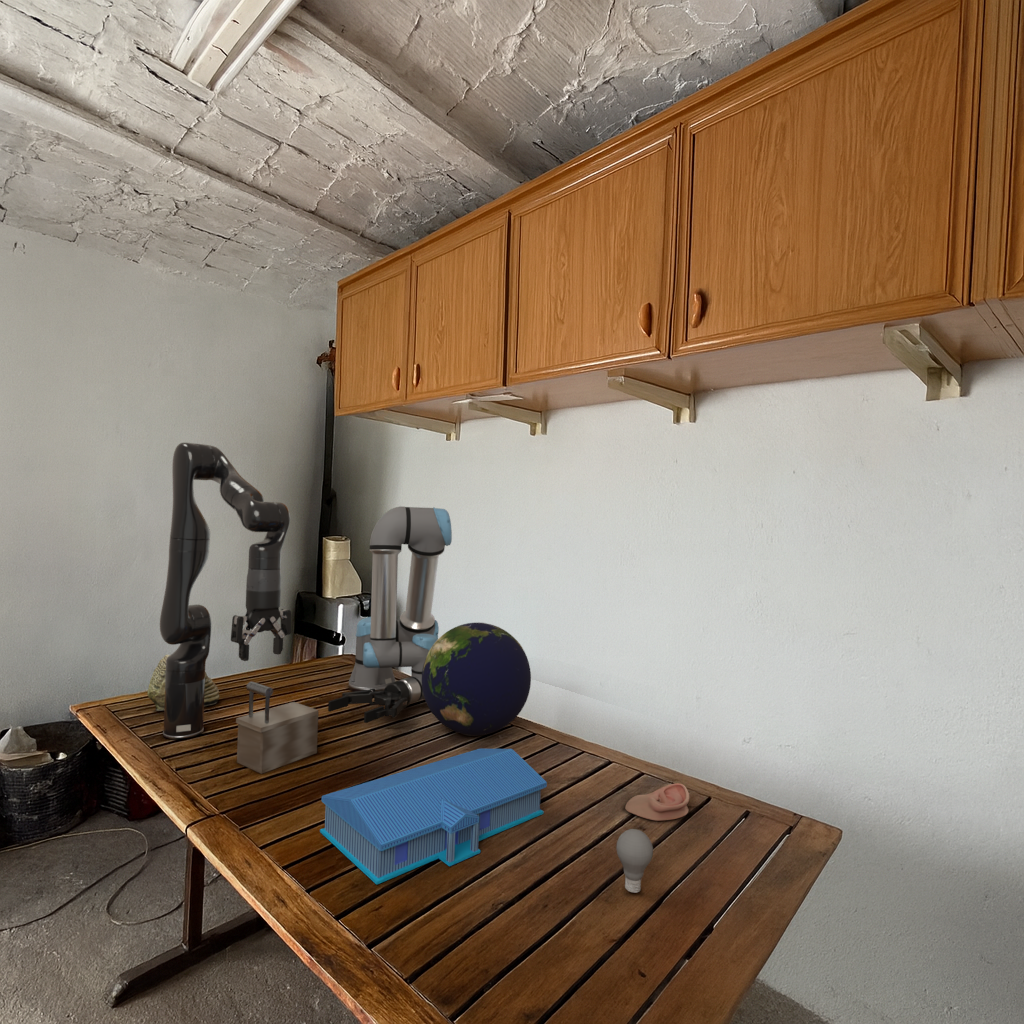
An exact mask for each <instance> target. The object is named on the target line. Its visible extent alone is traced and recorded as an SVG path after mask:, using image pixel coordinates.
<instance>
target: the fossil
mask: <svg viewBox="0 0 1024 1024" xmlns="http://www.w3.org/2000/svg"><path fill="white" fill-rule="evenodd" d="M170 655H171V654H165V655H164V656H163V657H162V658H161V659H160V660H159V662H158V663H157V666H156V667H155V669H154V670H153V672H152V675H151V677H150V680H149V684H148V688H147V697H148V699H149V700H150V701H152V703H153V704H154V706H155V711H158V712H159V711H162V712H163V711H164V705H165V674H166V660H167V658H168V657H169V656H170ZM220 698H221V696H220V690H219V688H218V686H217V685H216V683H215V682H214V681H213V679H212V678H211V677H209V675H208V674H207V672H206V671H205V693H204V707H207V706H213V705H215V704H217V703H218V701H219V699H220Z"/></svg>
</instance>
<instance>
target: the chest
mask: <svg viewBox="0 0 1024 1024" xmlns="http://www.w3.org/2000/svg"><path fill="white" fill-rule="evenodd" d="M318 730H319V714H318V715H315V716H312V717H309V718H306V719H303V720H300V721H296V722H293V723H290V724H287V725H284V726H281V727H277V728H274V729H271V730H268V731H265V732H262V733H260V732H258V731H255V730H253V729H250V728H248V727H245V726H243V725H240V724H238V723H237V742H236V743H237V744H236V745H237V747H236V763H237V764H239V765H241V766H244V768H245V767H246V768H247V769H250V770H252V771H254V772H256V773H259V774H261V775H262V774H265V773H268V772H270V771H273V770H276V769H278V768H280V767H284V766H287V765H289V764H292V763H294V762H297V761H299V760H302V759H305V758H308V757H310V756H313V755H316V754H317V753H318V733H319V731H318Z"/></svg>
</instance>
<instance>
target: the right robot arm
mask: <svg viewBox="0 0 1024 1024" xmlns="http://www.w3.org/2000/svg"><path fill="white" fill-rule="evenodd" d="M452 533H453V532H452V522H451V517H450V514H449V511H448V510H447V509H445V508H438V507H434V506H433V507H419V506H418V507H417V506H415V507H414V506H396V507H393V508H390V509H388V510H387V511H386V512H385V513H383V515H381V517H380V518H379V519H378V520H377V522H376V523H375V525H374V527H373V529H372V532H371V534H370V539H369V553H371V554H372V565H371V566H372V567H371V569H372V570H371V600H370V601H371V603H370V616H367V617H364V618H362V619H360V620H359V621H358V622H357V624H356V633H355V637H356V639H355V659H354V666H353V669H352V672H351V674H350V677H349V679H348V689H349V690H350V691H348V692H342V693H341V697H338V698H335V699H331V700H329V701H328V703H327V704H328V705H327V712H330V713H331V712H333V711H334V712H335V711H337V710H341V709H342V708H347V707H349V705H360V704H361V705H363V704H369V705H370V706H377V705H378V707H375V708H373V709H369V710H367V711H363V723H365V724H368V723H370V722H372V721H376V720H378V719H381V718H383V717H386V718H387V717H391V718H393V719H394V718H396V717H397V716H399V714H400V713H401V712H402V710H403V709H405V708H407V707H409V706H410V705H411V704H414V703H417V702H420V701H422V700H425V698H424V694H423V690H422V670H423V665H424V662H425V659H426V657H427V654H428V652H429V650H430V649H431V647H432V646H433V644H434V643H435V642H436V641H437V640H438V639H439V631H440V629H439V627H440V626H439V622H438V621H437V620H436V619H435V616H434V615H433V613H432V612H433V611H432V610H433V602H434V595H435V587H436V580H437V571H438V566H439V565H438V564H439V559H440V556H441V555H442V554H443V553H445V548H446V547H448V546H451V544H452V542H453V541H452V539H453V534H452ZM403 545H407V549H408V550H409V552H411V557H410V567H409V576H408V585H407V594H406V603H405V610H404V611H403V612H402V613H401V614H400V617H399V619H397V605H398V603H397V602H398V601H397V600H398V570H399V568H398V566H399V554H400V553H401V552H402V549H403V548H402V546H403ZM407 667H408V668H410V669H411V670H410V671H411V676H409V677H406V678H401V679H399V680H396V678H395V674H394V670H393V668H407Z"/></svg>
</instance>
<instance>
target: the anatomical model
mask: <svg viewBox="0 0 1024 1024" xmlns="http://www.w3.org/2000/svg"><path fill="white" fill-rule="evenodd" d="M690 797H691V796H690V793H689V790H688V789H687V787H686V786H685V785H684V784H682V783H672V784H668V785H664V786H662V787H660V788H657V789H656V790H654V791H652V792H650V793H646V794H636V795H634V796H632V797H631V798H630V799H628V801H627V802H626V804H625V807H624V808H625V811H626V812H628V813H630V814H633V815H634V816H638V817H640V818H643V819H647V820H649V821H656V822H657V821H670V820H675V819H679V818H683V817H685V816H686V815H687V814H688V813H689V807H688V804H689V802H690Z"/></svg>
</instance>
